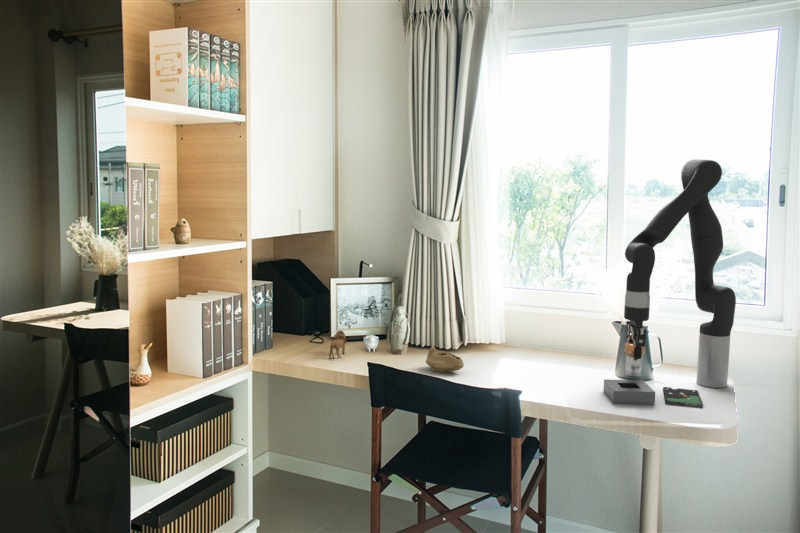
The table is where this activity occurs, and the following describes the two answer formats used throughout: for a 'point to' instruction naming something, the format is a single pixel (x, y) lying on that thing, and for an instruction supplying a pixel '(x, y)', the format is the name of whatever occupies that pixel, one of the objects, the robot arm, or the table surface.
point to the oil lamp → (443, 361)
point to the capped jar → (632, 360)
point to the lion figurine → (338, 343)
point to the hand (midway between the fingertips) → (634, 355)
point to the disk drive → (682, 397)
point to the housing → (629, 392)
